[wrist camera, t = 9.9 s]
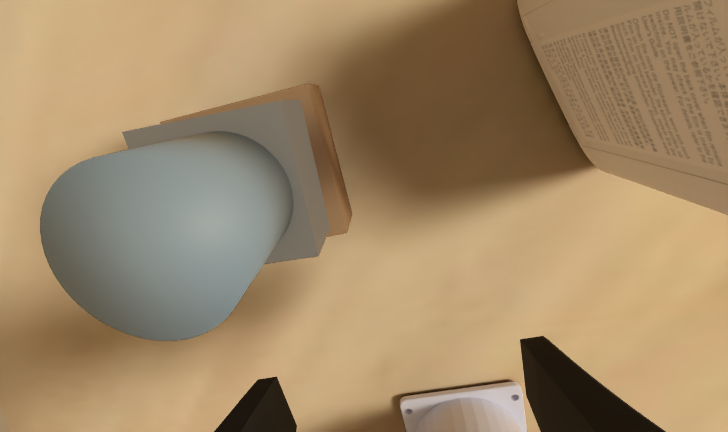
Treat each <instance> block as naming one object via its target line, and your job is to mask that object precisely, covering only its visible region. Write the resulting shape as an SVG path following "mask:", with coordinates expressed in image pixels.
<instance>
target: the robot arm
mask: <svg viewBox="0 0 728 432" xmlns="http://www.w3.org/2000/svg"><path fill="white" fill-rule="evenodd" d="M520 343H521V352H522V361H523V369H524V378H525V387H526V396H527V398H528V401H529V403H530V406H531V408H532V411H533V413H534V416H535V418H536V421H537V423H538V426H539V428H540V431H541V432H665V431H664V430H663V429H661V428H660V427H658V426H657V425H656V424H654V423H653V422H651V421H650V420H649V419H647V418H646V417H644V416H643V415H641V414H640V413H639V412H637V411H636V410H635V409H633V408H632V407H631V406H629V405H628V404H627V403H625V402H624V401H623V400H621V399H620V398H619V397H617V396H616V395H615V394H614V393H612V392H611V391H610V390H608V389H607V388H606V387H604V386H603V385H602V384H601V383H599V382H598V381H597V380H596V379H594V378H593V377H592V376H591V375H589V374H588V373H587V372H586V371H584V370H583V369H582V368H581V367H580V366H578V365H577V364H576V363H575V362H574V361H572V360H571V359H570V358H569V357H568V356H566V355H565V354H564V353H563V352H562V351H561V350H559V349H558V348H557V347H556V346H555V345H554V344H553V343H551V342H550V341H549V340H548V339H547V338H545V337H544V336H540V337H534V338H527V339H520ZM512 395H514V396H512ZM400 409H401V413H402V416H403V420H404V424H405V427H406V431H407V432H527V428H526V419H525V411H524V403H523V394H522V389H521V387H520V385H519V384H518V383H517V382H505V383H498V384H491V385H483V386H476V387H469V388H461V389H454V390H447V391H440V392H432V393H425V394H418V395H411V396H405V397H402V398H401V399H400ZM407 409H409V410H407ZM296 428H297V425H296V423H295V420H294V418H293V416H292V413H291V411H290V408H289V406H288V403H287V401H286V398H285V396H284V394H283V391H282V389H281V386H280V384H279V381H278V379H277V377H272V378H266V379H259V380H257V381H256V383H255V384H254V385H253V386H252V387H251V388H250V389H249V391H248V392H247V393H246V394H245V395H244V397H243V398H242V399H241V400H240V401H239V403H238V404H237V405H236V406H235V407H234V409H233V410H232V411H231V412H230V413H229V415H228V416H227V417H226V418H225V419H224V421H223V422H222V423H221V424H220V425H219V427H218V428H217V429H216V430H215V431H214V432H296Z"/></svg>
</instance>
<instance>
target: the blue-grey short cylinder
mask: <svg viewBox="0 0 728 432" xmlns="http://www.w3.org/2000/svg"><path fill="white" fill-rule="evenodd" d="M292 214H293V192H292V188H291V184H290V181H289V179H288V176H287V174H286V172H285V171H284V169H283V167H282V166H281V164H280V163H279V161H278V160H277V159H276V158H275V157H274V156H273V155H272V154H271V152H269V151H268V150H267V149H266V148H265V147H263V146H262V145H261V144H259V143H257V142H256V141H254V140H252V139H250V138H248V137H246V136H243V135H240V134H237V133H232V132H226V131H210V132H205V133H201V134H196V135H192V136H187V137H183V138H178V139H174V140H169V141H165V142H161V143H156V144H152V145H147V146H143V147H138V148H134V149H129V150H125V151H120V152H116V153H112V154H107V155H103V156H98V157H94V158H91V159H88V160H85V161H82V162H80V163H78V164H76V165H75V166H73V167H71V168H69V169H68V170H67V171H66V172H65V173H63V174H62V175H61V176H60V177H59V178H58V179H57V180H56V182H55V183H54V184H53V185H52V187H51V189H50V190H49V192H48V194H47V195H46V198H45V201H44V204H43V207H42V212H41V217H40V233H41V241H42V245H43V249H44V253H45V256H46V258H47V261H48V263H49V266H50V268H51V270H52V271H53V273H54V275H55V277H56V278H57V280H58V281H59V283H60V284H61V286H62V287H63V288H64V290H65V291H66V292H67V293H68V294H69V295H70V297H71V298H72V299H73V300H74V301H75V302H76V303H77V304H78V305H79V306H81V307H82V308H83V309H84V310H85V311H87V312H88V313H89V314H90V315H92V316H93V317H95V318H96V319H98V320H99V321H101V322H102V323H104V324H106V325H108V326H110V327H112V328H114V329H116V330H118V331H121V332H123V333H126V334H129V335H132V336H135V337H139V338H144V339H149V340H158V341H177V340H184V339H189V338H193V337H196V336H199V335H202V334H204V333H206V332H208V331H210V330H212V329H213V328H215V327H217V326H218V325H219V324H220V323H222V322H223V321H224V320H225V319H226V318H227V317H228V316H229V315H230V314H231V313H232V311H233V310H234V308H235V307H236V305H237V304H238V302H239V301H240V299H241V298H242V296H243V295H244V293H245V292H246V290H247V289H248V287H249V286H250V284H251V283H252V281H253V280H254V278H255V277H256V275H257V274H258V272H259V271H260V269H261V268H262V266H263V265H264V263H265V262H266V260H267V259H268V257H269V256H270V255H271V253H272V252H273V250H274V249H275V247H276V246H277V244H278V243H279V241H280V240H281V238H282V237H283V235H284V234H285V232H286V231H287V229H288V226H289V224H290V222H291V218H292Z"/></svg>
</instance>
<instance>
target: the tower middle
mask: <svg viewBox="0 0 728 432" xmlns="http://www.w3.org/2000/svg"><path fill="white" fill-rule="evenodd" d="M210 131H226V132H232V133H237V134H240V135H243V136H246V137H248V138H250V139H252V140H254V141H256V142H257V143H259V144H261V145H262V146H263V147H265V148H266V149H267V150H268V151H269V152H271V154H272V155H273V156H274V157H275V158H276V159H277V160H278V161H279V163H280V164H281V166H282V167H283V169H284V171H285V172H286V174H287V176H288V179H289V181H290V184H291V188H292V192H293V214H292V218H291V222H290V224H289V226H288V229H287V231H286V232H285V234H284V235H283V237H282V238H281V240H280V241H279V243H278V244H277V246H276V247H275V249H274V250H273V252H272V253H271V255H270V256H269V257H268V259H267V260H266V262H265V263H264V264H269V263H275V262H282V261H289V260H296V259H303V258H309V257H316V256H319V254H320V251H321V249H322V246H323V244H324V241H325V239H326V236H327V234H328V231H329V229H330V225H329V220H328V216H327V212H326V207H325V203H324V199H323V194H322V190H321V186H320V181H319V177H318V173H317V168H316V164H315V160H314V155H313V151H312V147H311V142H310V138H309V134H308V129H307V125H306V121H305V116H304V112H303V108H302V103H301V100H280V101H275V102H270V103H265V104H260V105H255V106H250V107H245V108H240V109H235V110H230V111H225V112H220V113H215V114H210V115H205V116H200V117H195V118H190V119H185V120H180V121H175V122H170V123H165V124H160V125H155V126H150V127H145V128H140V129H135V130H130V131H125V132H122V133H123V135H124V138H125V140H126V143H127V145H128V148H129V149H134V148H138V147H143V146H147V145H152V144H156V143H161V142H165V141H169V140H174V139H178V138H183V137H187V136H192V135H196V134H201V133H205V132H210Z"/></svg>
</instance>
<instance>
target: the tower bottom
mask: <svg viewBox="0 0 728 432" xmlns="http://www.w3.org/2000/svg"><path fill="white" fill-rule="evenodd" d="M280 100H301V103H302V108H303V112H304V116H305V121H306V125H307V129H308V134H309V138H310V142H311V147H312V151H313V155H314V160H315V164H316V168H317V173H318V177H319V181H320V186H321V190H322V194H323V199H324V203H325V207H326V212H327V216H328V220H329V225H330V229H329V231H328V234H327V236H326V237H329V236H334V235H339V234H344V233H347V232H348V228H349V225H350V221H351V217H352V211H351V207H350V203H349V199H348V196H347V192H346V188H345V184H344V180H343V176H342V172H341V169H340V165H339V161H338V157H337V153H336V149H335V146H334V142H333V138H332V134H331V130H330V126H329V122H328V119H327V115H326V111H325V107H324V103H323V99H322V96H321V92H320V88H319V86H318V85H312V84H304V85H300V86H296V87H293V88H289V89H285V90H281V91H277V92H273V93H270V94H266V95H262V96H258V97H254V98H250V99H247V100H243V101H239V102H235V103H231V104H228V105H224V106H220V107H216V108H212V109H208V110H205V111H201V112H197V113H193V114H189V115H185V116H182V117H178V118H174V119H170V120H166V121H163V122H160V124H165V123H170V122H175V121H180V120H185V119H190V118H195V117H200V116H205V115H210V114H215V113H220V112H225V111H230V110H235V109H240V108H245V107H250V106H255V105H260V104H265V103H270V102H275V101H280Z"/></svg>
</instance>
